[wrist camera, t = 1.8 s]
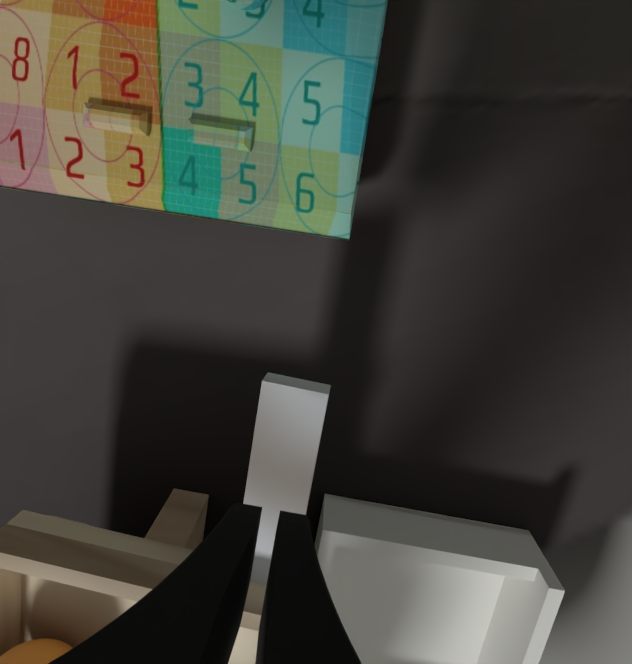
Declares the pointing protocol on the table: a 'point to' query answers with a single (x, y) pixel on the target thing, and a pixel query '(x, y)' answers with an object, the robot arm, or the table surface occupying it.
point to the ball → (35, 652)
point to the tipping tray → (151, 556)
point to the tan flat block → (181, 520)
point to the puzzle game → (192, 105)
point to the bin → (435, 585)
